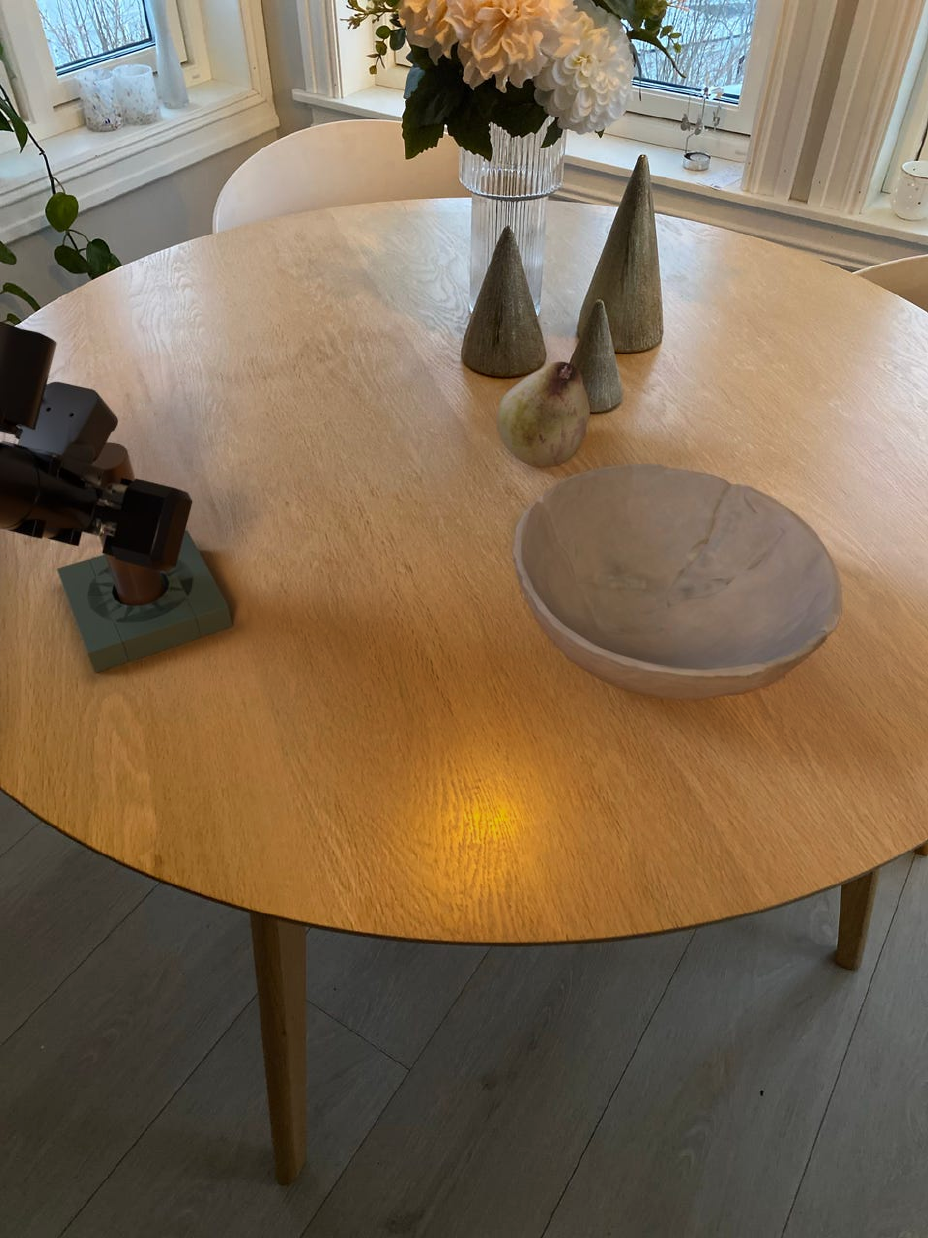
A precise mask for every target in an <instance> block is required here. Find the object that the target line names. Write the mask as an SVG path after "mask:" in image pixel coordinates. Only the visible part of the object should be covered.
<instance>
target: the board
mask: <svg viewBox="0 0 928 1238" xmlns="http://www.w3.org/2000/svg"><path fill="white" fill-rule="evenodd" d="M56 571H57V573H58V577H59V580H60V582H61V585H62V587H63V591H64V593H65V596H66V598H67V601H68V604H69V607H70V610H71V612H72V615H73V618H74V620H75V623H76V626H77V629H78V632H79V635H80V637H81V640H82V643H83V645H84V648H85V651H86V654H87V656H88V659H89V661H90V664H91V667H92V670H93V672H94V674H97V673H100V672H103V671H106V670H109V669H112V668H115V667H119V666H121V665H123V664H127V663H131V662H133V661H136V660H139V659H141V658H145V657H148V656H151V655H153V654H157V653H160V652H162V651H166V650H169V649H171V648H174V647H177V646H180V645H183V644H186V643H189V642H192V641H195V640H198V639H200V638H203V637H206V636H209V635H213V634H215V633H217V632H218V633H219V632H220V631H224V630H227V629H229V628H233V626H234V625H233V622H232V616H231V611H230V607H229V605H228V603H227V601H226V599H225V597H224V596H223V594H222V591H221V590H220V588H219V586H218V584H217V582H216V580H215V578H214V577H213V575H212V573H211V571H210V570H209V568H208V566H207V564H206V562H205V560H204V558H203V556H202V555H201V552H200V550H199V548H198V547H197V545H196V543H195V542H194V539H193V538H192V536H191V534H190V532H189V530H188V529H185V533H184V537H183V541H182V545H181V549H180V552H179V556H178V560H177V564H176V567H175V568H173V569H172V570H170V571H169V572H164V571H161V574H162V577H163V581H164V585H165V588H166V592H165V594H164V595H163V596H162V597H160V598H159V599H157V600H156V601H154V602H152V603H149V604H146V605H140V606H129V605H124V604H121V603H120V599H119V596H118V593H117V590H116V587H115V584H114V581H113V578H112V575H111V572H110V569H109V565H108V562H107V559H106V556H105V554H101V555H98V556H95V557H94V556H93V557H91V558H89V559H85V560H81V561H78V562H75V563H72V564H68V565H65V566H61V567H58V568H57V569H56Z"/></svg>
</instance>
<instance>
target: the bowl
mask: <svg viewBox="0 0 928 1238" xmlns="http://www.w3.org/2000/svg"><path fill="white" fill-rule="evenodd" d="M512 556H513V563H514V567H515V570H516V574H517V579H518V582H519V585H520V588H521V591H522V593H523V596H524V598H525V601H526V603H527V605H528V608H529V610H530V611H531V614H532V615H533V617H534V619H535V621H536V622H537V624H538V625H539V627H540V628H541V629H542V632H544V634H545V635H546V636H547V638H549V640H550V641H551V642H552V644H553V646H555V647H556V648H557V649H558V650H559V652H561V653H562V654H563V655H564V656H565V657H567V658H568V659H569V661H571V662H572V663H574V664H575V665H576V666H578V667H579V668H581V669H582V670H583V671H585V672H587V673H588V674H590V675H591V676H593V677H594V678H597V679H598V680H600V681H602V682H605V683H606V684H609V685H611V686H613V687H616V688H618V689H619V690H620V689H621V690H624V691H626V692H628V693H632V694H636V695H639V696H643V697H648V698H652V699H662V700H663V699H666V700H676V701H700V700H710V699H714V698H720V697H728V696H729V697H730V696H740V695H745V694H750V693H752V692H755V691H757V690H761V689H763V688H766V687H768V686H771V685H774V684H778V683H780V682H781V681H783V680H786V675H787V674H789V672H790V671H792V670H794V669H796V668H797V667H798V666H799V665H801V664H803V663H804V662H805V661H806V660H808V658H809V657H810V656H811V655H813V654H814V652H816V651H818V650H819V649H820V648H821V647H822V645H824V643H826V642H827V639H828V638H829V636H831V634H832V633H834V632H835V630H836V629H837V627H838V625H839V623H840V620H841V617H842V612H843V594H842V593H843V591H842V583H841V579H840V575H839V571H838V569H837V566H836V564H835V562H834V559H833V558H832V555H831V554H830V552H829V550H828V549H827V547H826V545H825V544H824V542H823V541H822V539H821V538H820V536H819V535H818V533H817V532H816V531H815V530H814V528H812V526H811V525H809V523H808V522H807V521H805V520H804V519H803V518H802V517H801V516H800V515H799V514H797V513H796V512H794V511H793V510H792V509H790V508H789V507H788V506H786V505H784V504H783V503H781V502H780V501H778V499H776V498H774V497H772V496H770V495H768V494H766V493H764V492H762V491H760V490H759V489H756V488H755V487H753V486H750V485H746V484H740V483H735V484H732V483H731V482H729V481H728V480H727V479H724V478H722V477H719V476H716V475H714V474H710V473H705V472H700V471H694V470H688V469H681V468H674V467H669V466H665V465H662V464H659V463H632V464H631V463H630V464H624V465H610V466H605V467H600V468H595V469H590V470H587V471H584V472H578V473H575V474H572V475H570V476H568V477H565V478H564V479H562V480H560V481H558V482H556V483H554V484H553V485H552V486H551V487H549V488H548V489H547V490H546V491H545V492H544V493H543V494H542V495H540V497H539V500H538V501H534V503H533V504H531V505H530V506H529V507H527V508H526V509H525V510H524V512H523V513H522V515H521V517H520V519H519V521H518V523H517V524H516V529H515V534H514V540H513V547H512Z"/></svg>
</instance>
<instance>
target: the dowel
mask: <svg viewBox="0 0 928 1238" xmlns="http://www.w3.org/2000/svg"><path fill="white" fill-rule="evenodd" d="M92 465H93V466H96V467H98V468H101V469H104V471H103V475H102V479H101V483H100V485H99V486H97V485H94V487H97V488H101V489H105V488H106V487H107V486H108V485H109V484H110V483H119V484H120V481H121V478H124V479H129V480H133V481H134V480H135V479H136V477H135V472H134V469H133V464H132V462H131V458H130V453H129V451H128V448H126V447H125V446H124V445H122V444H120V443H117V442H112V441H111V442H108V441H107V442H106V444H105V446H104V448H103V449H102V451H101V453H100V455H99V457H98V458H97V460H96V461H94V462H93V463H92ZM107 501H108V500H107ZM108 502H112V501H108ZM97 505H101V506H104V505H105V503H102V501H101V502H98V501H97ZM93 519H94V521H96V522H99V523H100V521H101V519H97V518H93ZM107 529H108V528H106V527H105V529H104V533H103V535H102V536H98V538H99V541H100V544H101V547H102V548H103V547H104V543H105V539H106V535H107V534H106V530H107ZM105 556H106V559H107V562H108V565H109V569H110V572H111V575H112V578H113V581H114V584H115V587H116V590H117V593H118V596H119V599H120V603H121V604H124V605H129V606H140V605H146V604H149V603H152V602H154V601H156V600H157V599H159V598H160V597H162V596H163V595H164V594H165V592H166V588H165V585H164V581H163V577H162V574H161V571H158V570H153V569H150V568H146V567H142V566H138V565H135V564H131V563H127V562H124V561H120V560H116V559H115V557H114V556H110V555H106V554H105Z"/></svg>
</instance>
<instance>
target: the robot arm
mask: <svg viewBox="0 0 928 1238" xmlns="http://www.w3.org/2000/svg"><path fill="white" fill-rule="evenodd" d="M57 345H58V344H57V341H55V340H54V339H53V338H51V337H49V336H47V335H45V334H43V333H42V332H38V331H34V330H29V329H24V328H21V327H18V326H15V325H12V324H9V323H6V322H3V321H0V433H3V434H8V435H13V436H14V437H15V438H16V439H17V440H18V442H17V443H14V442H9V441H6V440H2V441H0V530H5V531H8V532H13V533H17V534H20V535H24V536H26V537H27V536H28V537H30V538H35V539H40V540H42V539H43V538H44V539H47V540H51V541H55V542H58V543H62V544H67V545H69V546H74V547H80V543H81V538H82V535H83V533H85V534H89V535H93V536H96V537H99V536H102V535H103V533H104V529H105V527H106V528H108V529H107V530H106V534H107V535H106V539H105V543H104V547H102V552H101V553H102V555H104V554H106V555H110V556H114V557H115V559H116V560H120V561H124V562H127V563H131V564H135V565H138V566H142V567H146V568H150V569H153V570H158V571H164V572H169V571H170V570H172V569H173V568H175V567H176V564H177V560H178V556H179V552H180V549H181V545H182V541H183V537H184V533H185V530H187V525H188V521H189V518H190V514H191V509H192V505H193V502H194V501H193V499H192V498H191V497H192V496H191V495H190V494H189V492H188V491H186V490H182V489H179V488H176V487H172V486H168V485H165V484H161V483H155V482H153V481H148V480H144V479H140V478H135V480H134V481H133V480H129V479H124V478H121V481H120V484H119V483H110V484H109V485H108V486H107V487H106V488H105V489H101V488H97V487H94V485H97V486H99V485H100V483H101V479H102V475H103V471H104V469H101V468H98V467H96V466H93V465H92V463H93V462H94V461H96V460H97V458H98V457H99V455H100V453H101V451H102V449H103V448H104V446H105V444H106V442H108V440H109V438H110V436H111V434H112V433H113V432H115V431H116V428H117V427H118V423H119V418H118V416H117V415H116V414H115V413H114V411H113V410H112V409H111V407H110V406H109V405H108V404H107V402H106V401H105V400H104V399H103V398H102V396H101V395H100V394H99V392H97V391H96V390H95V389H92V388H88V387H83V386H81V385H76V384H70V383H66V382H61V381H52V382H49V383H48V380H49V376H50V372H51V368H52V364H53V360H54V357H55V352H56V349H57ZM107 500H108V501H112V502H108V501H107ZM97 501H98V502H101V501H102V503H105V505H104V506H101V505H97ZM93 518H97V519H101V521H100V523H99V522H96V521H94V519H93Z"/></svg>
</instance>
